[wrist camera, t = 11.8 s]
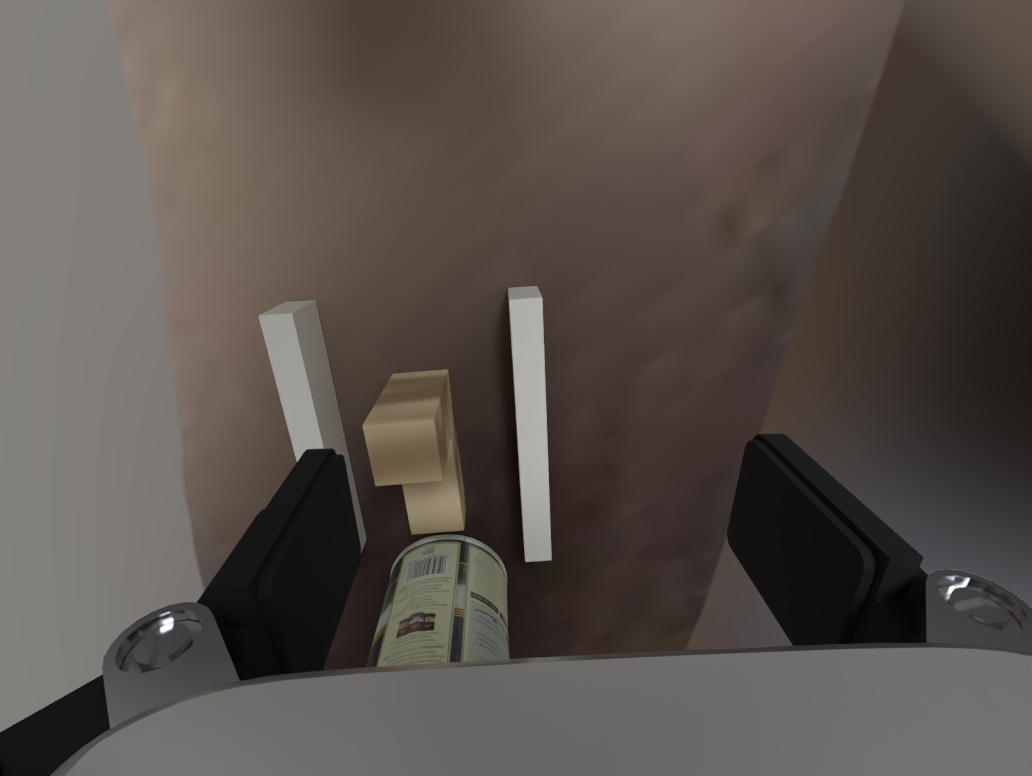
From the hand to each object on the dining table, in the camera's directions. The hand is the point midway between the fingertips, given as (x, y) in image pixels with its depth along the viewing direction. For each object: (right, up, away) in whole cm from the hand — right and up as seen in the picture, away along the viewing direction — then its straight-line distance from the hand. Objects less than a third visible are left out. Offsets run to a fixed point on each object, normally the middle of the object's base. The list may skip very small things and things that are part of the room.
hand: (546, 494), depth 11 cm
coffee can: (-7, -14, +31) cm, 35 cm away
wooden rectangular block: (-7, -2, +26) cm, 27 cm away
